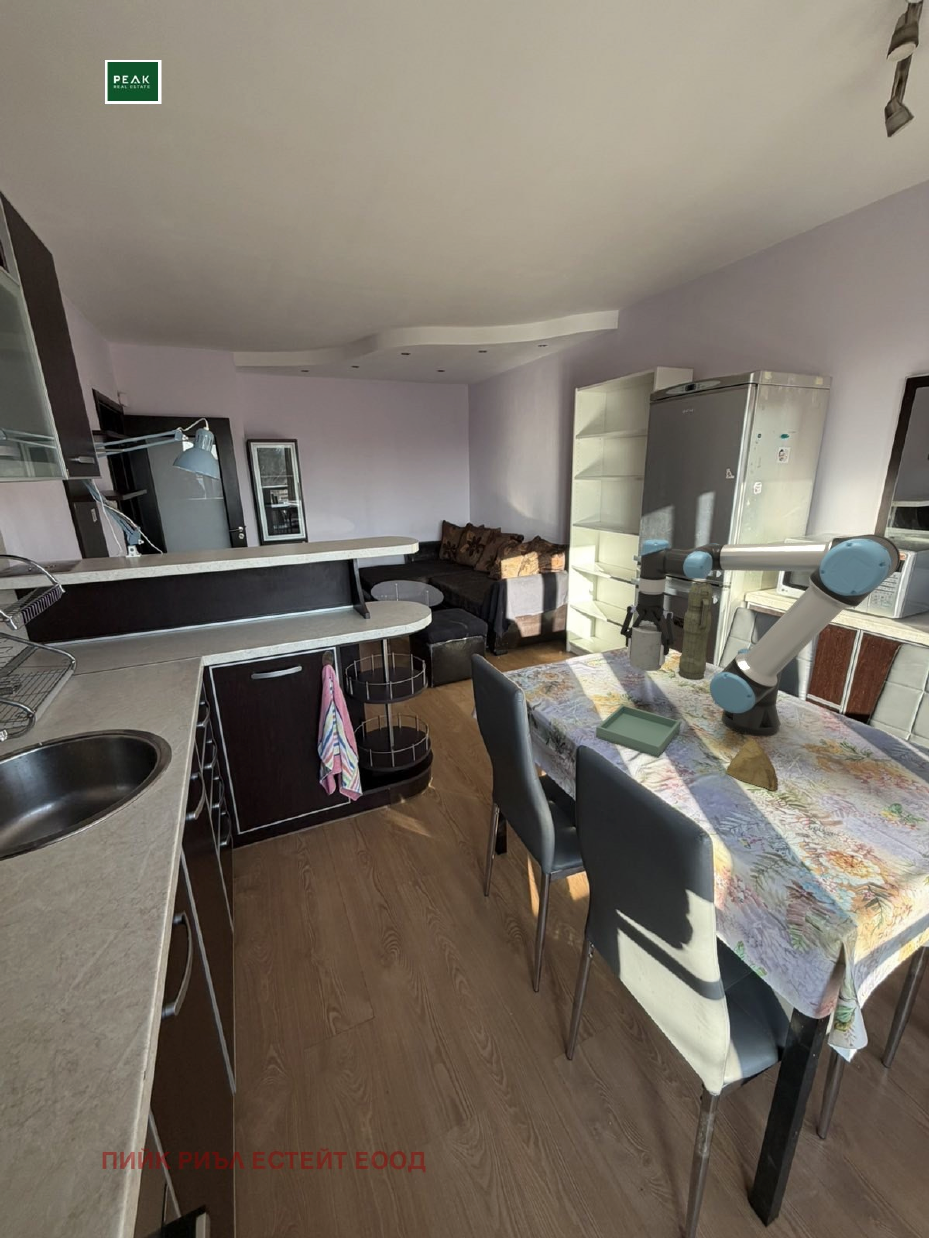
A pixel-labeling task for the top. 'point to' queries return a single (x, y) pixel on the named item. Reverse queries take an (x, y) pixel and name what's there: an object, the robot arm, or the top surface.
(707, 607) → the thermos
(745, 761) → the rock
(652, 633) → the speckled white canister
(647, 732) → the tray
